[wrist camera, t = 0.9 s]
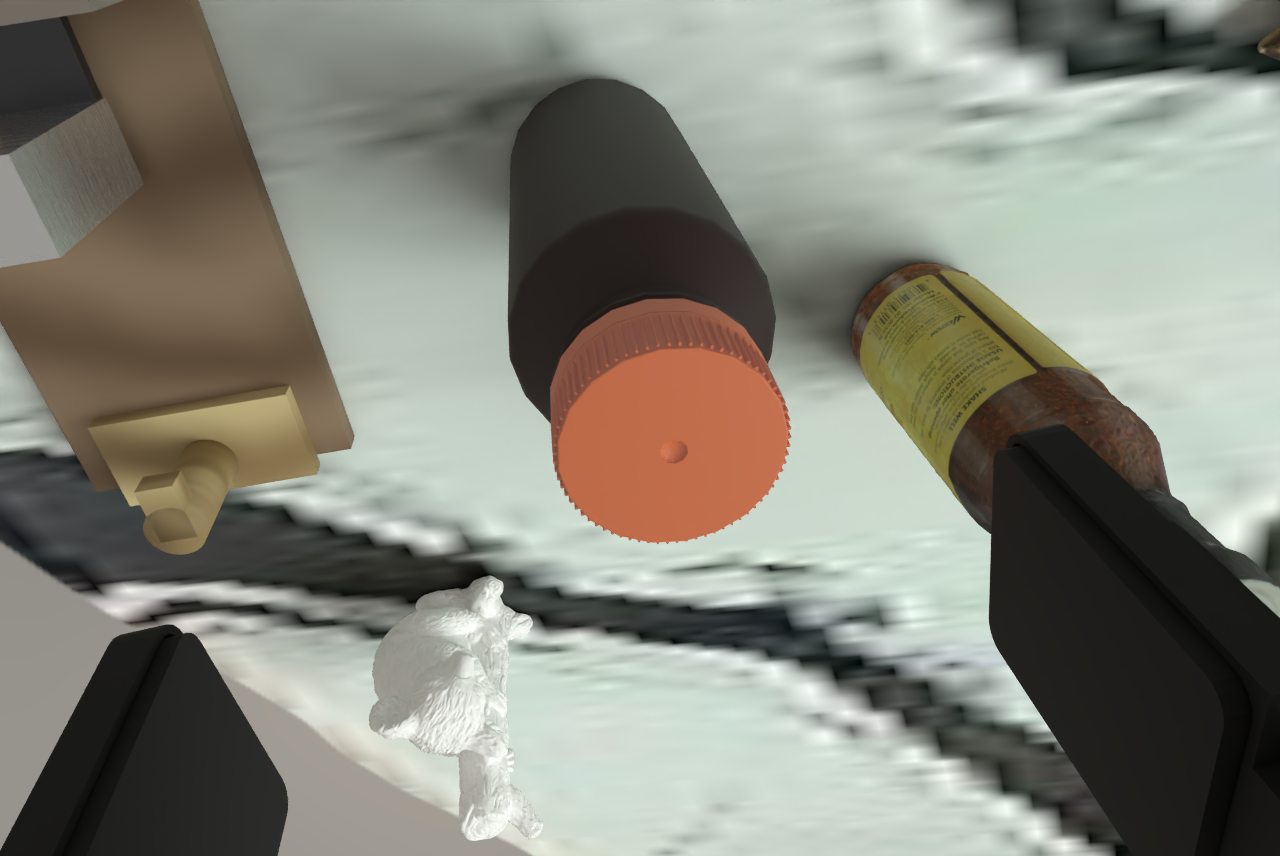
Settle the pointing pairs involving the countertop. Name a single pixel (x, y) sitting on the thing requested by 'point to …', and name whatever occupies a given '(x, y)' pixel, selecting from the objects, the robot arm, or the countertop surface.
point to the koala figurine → (457, 697)
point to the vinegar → (639, 319)
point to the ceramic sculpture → (1271, 45)
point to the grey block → (54, 145)
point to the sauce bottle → (1002, 395)
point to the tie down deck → (174, 292)
